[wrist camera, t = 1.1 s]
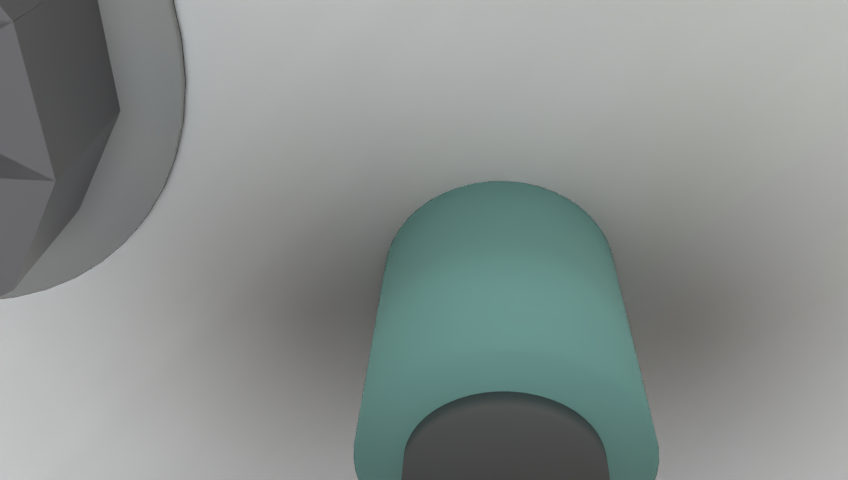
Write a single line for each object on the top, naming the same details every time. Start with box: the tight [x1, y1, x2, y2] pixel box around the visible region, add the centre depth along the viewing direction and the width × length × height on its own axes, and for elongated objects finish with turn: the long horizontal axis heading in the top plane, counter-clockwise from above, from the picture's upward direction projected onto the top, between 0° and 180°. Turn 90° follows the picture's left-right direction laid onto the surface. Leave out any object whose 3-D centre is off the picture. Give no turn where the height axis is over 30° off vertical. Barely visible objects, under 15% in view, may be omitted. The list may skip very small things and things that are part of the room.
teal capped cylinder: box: [354, 181, 659, 480], centre depth 15 cm, size 5×5×5 cm
